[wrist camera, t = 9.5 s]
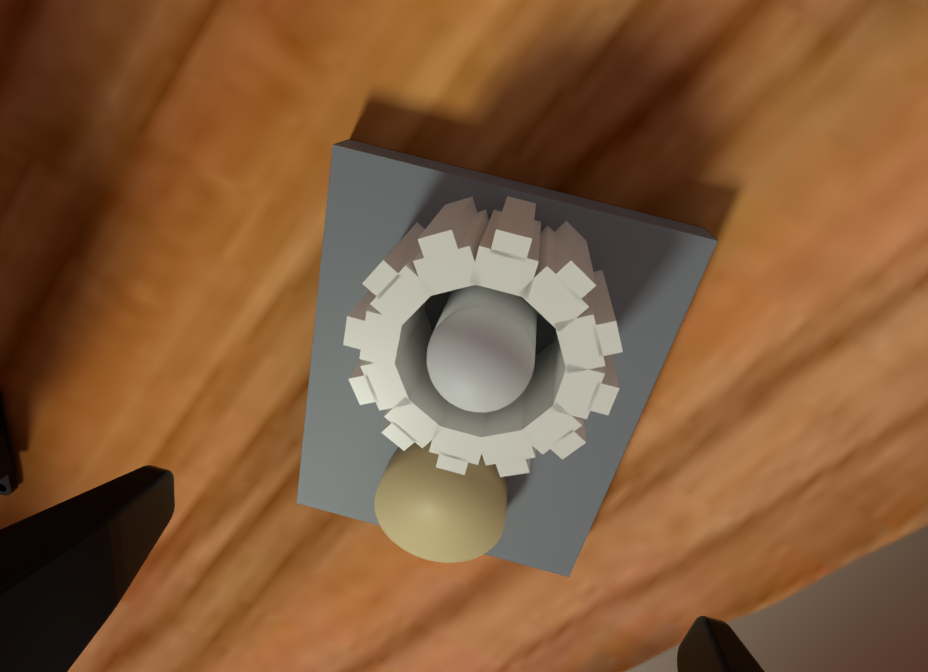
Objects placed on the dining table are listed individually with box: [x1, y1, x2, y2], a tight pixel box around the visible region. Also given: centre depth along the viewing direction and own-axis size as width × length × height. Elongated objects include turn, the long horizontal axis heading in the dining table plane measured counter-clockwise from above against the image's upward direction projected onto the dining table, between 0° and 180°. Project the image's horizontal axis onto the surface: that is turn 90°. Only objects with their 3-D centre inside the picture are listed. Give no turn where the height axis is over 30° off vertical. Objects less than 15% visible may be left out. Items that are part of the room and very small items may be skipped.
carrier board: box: [297, 139, 718, 577], centre depth 18 cm, size 12×15×6 cm
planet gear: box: [343, 196, 623, 477], centre depth 17 cm, size 8×8×4 cm
